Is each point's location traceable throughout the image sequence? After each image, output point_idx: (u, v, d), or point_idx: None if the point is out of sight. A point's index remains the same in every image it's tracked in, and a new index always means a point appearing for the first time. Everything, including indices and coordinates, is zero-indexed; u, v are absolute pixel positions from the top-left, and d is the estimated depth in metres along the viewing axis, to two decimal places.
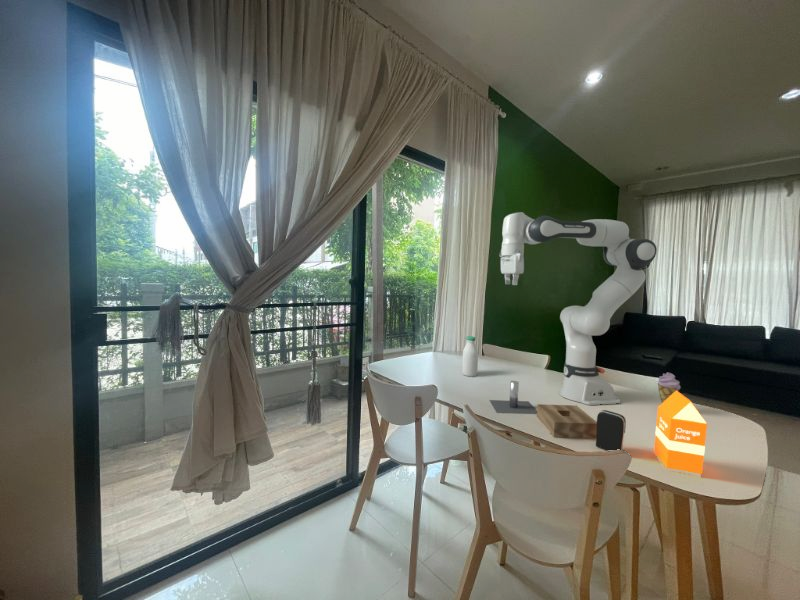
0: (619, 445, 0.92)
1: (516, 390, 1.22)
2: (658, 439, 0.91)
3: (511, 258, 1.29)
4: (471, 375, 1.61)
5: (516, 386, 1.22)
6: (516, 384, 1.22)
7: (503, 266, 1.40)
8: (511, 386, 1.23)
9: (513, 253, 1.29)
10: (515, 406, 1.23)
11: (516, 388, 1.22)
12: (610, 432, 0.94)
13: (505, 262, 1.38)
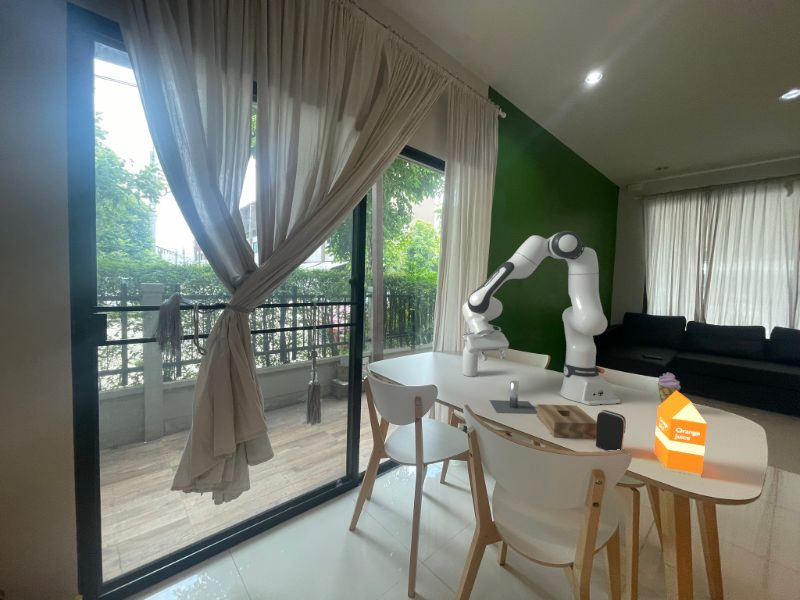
0: (619, 445, 0.92)
1: (516, 390, 1.22)
2: (658, 439, 0.91)
3: None
4: (471, 375, 1.61)
5: (516, 386, 1.22)
6: (516, 384, 1.22)
7: None
8: (511, 386, 1.23)
9: None
10: (515, 406, 1.23)
11: (516, 388, 1.22)
12: (610, 432, 0.94)
13: None
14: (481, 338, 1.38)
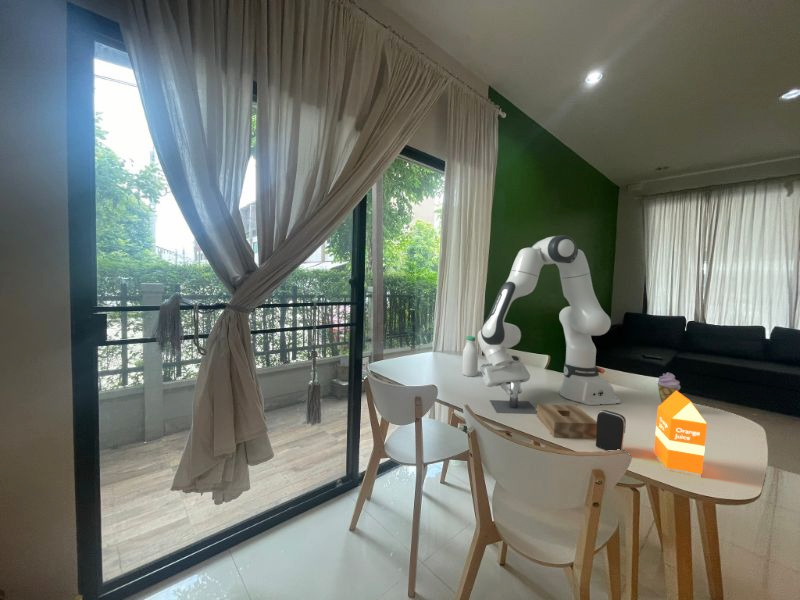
0: (619, 445, 0.92)
1: (516, 390, 1.22)
2: (658, 439, 0.91)
3: None
4: (471, 375, 1.61)
5: (516, 386, 1.22)
6: (516, 384, 1.22)
7: None
8: (511, 386, 1.23)
9: None
10: (515, 406, 1.23)
11: (516, 388, 1.22)
12: (610, 432, 0.94)
13: None
14: (500, 370, 1.27)
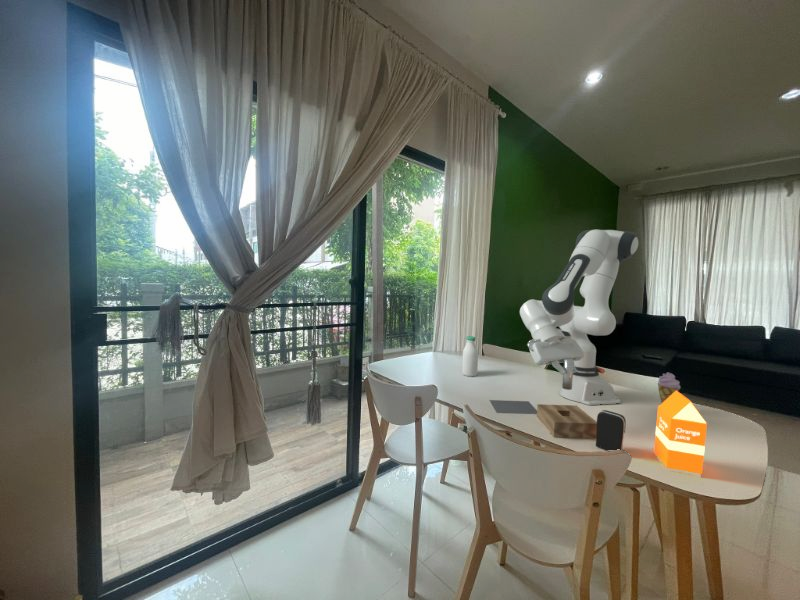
0: (619, 445, 0.92)
1: (571, 369, 1.06)
2: (658, 439, 0.91)
3: None
4: (471, 375, 1.61)
5: (571, 364, 1.06)
6: (571, 362, 1.06)
7: None
8: (565, 364, 1.07)
9: None
10: (570, 387, 1.06)
11: (571, 366, 1.06)
12: (610, 432, 0.94)
13: None
14: (550, 346, 1.11)
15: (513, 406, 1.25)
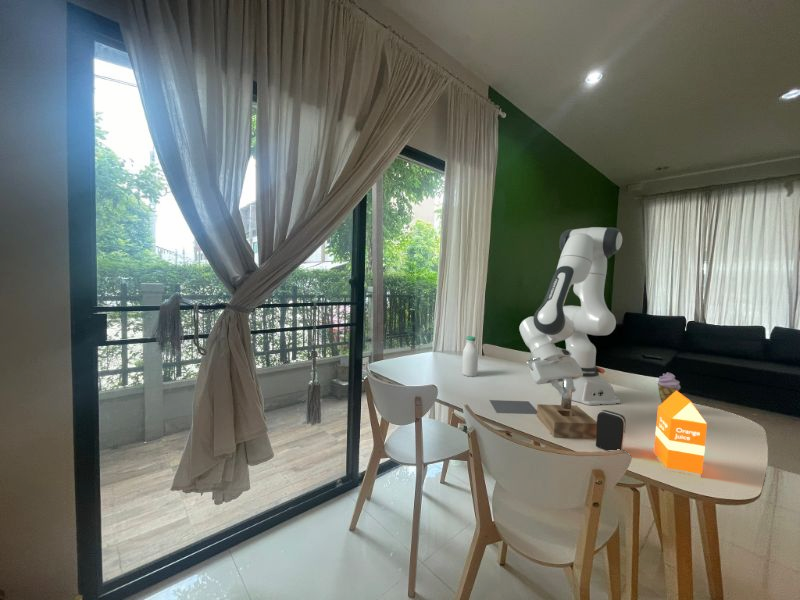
0: (619, 445, 0.92)
1: (570, 388, 1.06)
2: (658, 439, 0.91)
3: None
4: (471, 375, 1.61)
5: (570, 384, 1.06)
6: (570, 381, 1.06)
7: None
8: (564, 384, 1.07)
9: None
10: (569, 407, 1.07)
11: (570, 386, 1.06)
12: (610, 432, 0.94)
13: None
14: (550, 365, 1.11)
15: (513, 406, 1.25)
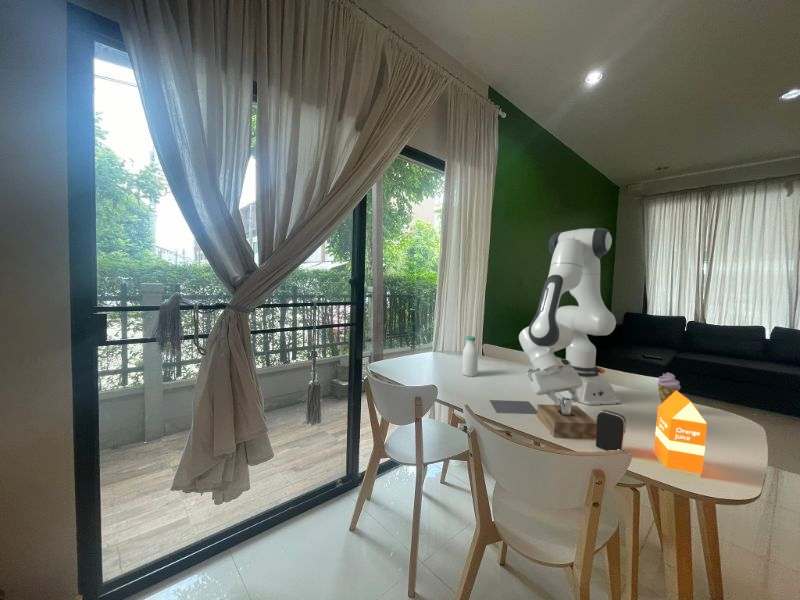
0: (619, 445, 0.92)
1: (569, 409, 1.07)
2: (658, 439, 0.91)
3: None
4: (471, 375, 1.61)
5: (569, 404, 1.07)
6: (569, 402, 1.07)
7: None
8: (563, 404, 1.08)
9: None
10: None
11: (569, 407, 1.07)
12: (610, 432, 0.94)
13: None
14: (549, 376, 1.11)
15: (513, 406, 1.25)
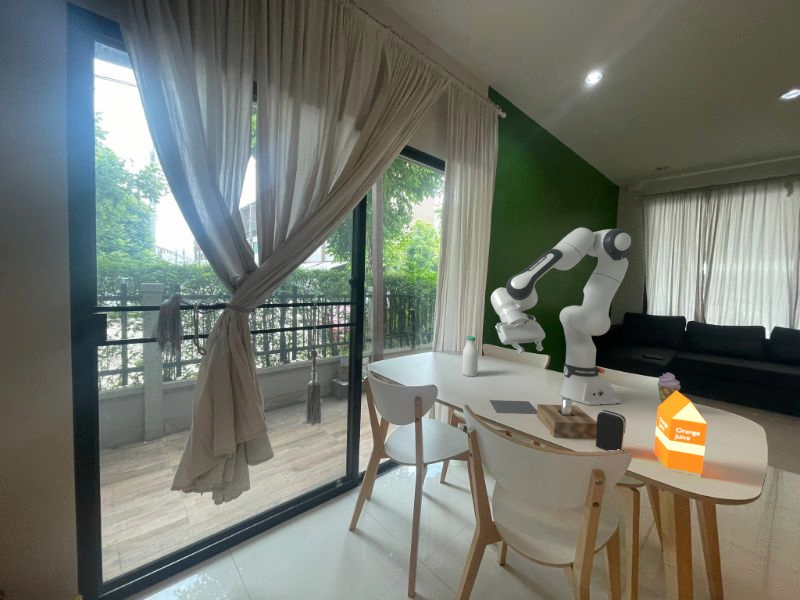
0: (619, 445, 0.92)
1: (569, 409, 1.07)
2: (658, 439, 0.91)
3: None
4: (471, 375, 1.61)
5: (569, 404, 1.07)
6: (569, 402, 1.07)
7: None
8: (563, 404, 1.08)
9: None
10: None
11: (569, 406, 1.07)
12: (610, 432, 0.94)
13: None
14: (515, 328, 1.24)
15: (513, 406, 1.25)
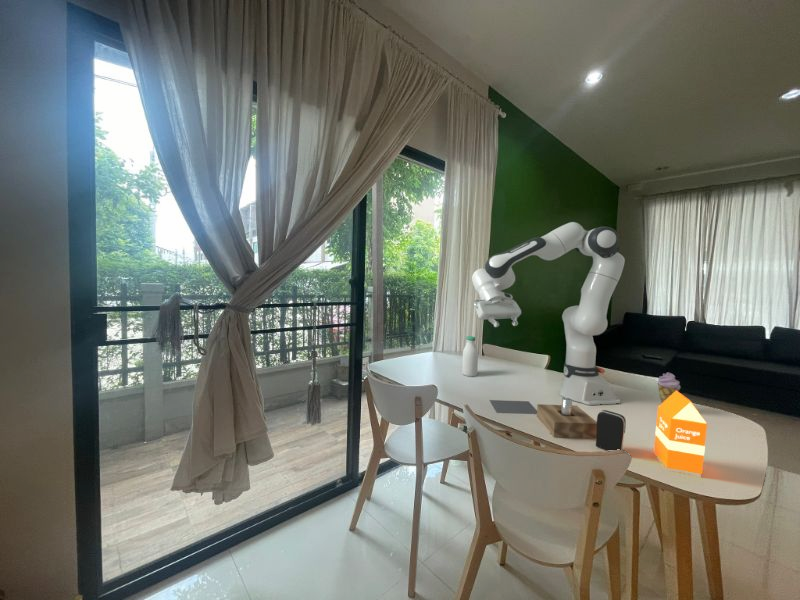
0: (619, 445, 0.92)
1: (569, 409, 1.07)
2: (658, 439, 0.91)
3: None
4: (471, 375, 1.61)
5: (569, 404, 1.07)
6: (569, 402, 1.07)
7: None
8: (563, 404, 1.08)
9: None
10: None
11: (569, 407, 1.07)
12: (610, 432, 0.94)
13: None
14: (492, 305, 1.33)
15: (513, 406, 1.25)
